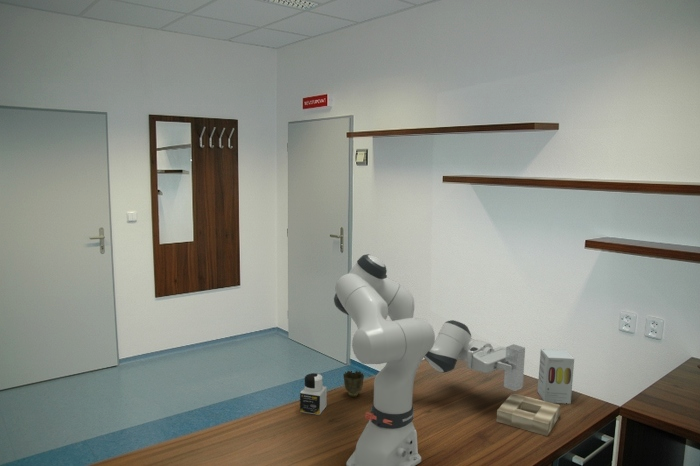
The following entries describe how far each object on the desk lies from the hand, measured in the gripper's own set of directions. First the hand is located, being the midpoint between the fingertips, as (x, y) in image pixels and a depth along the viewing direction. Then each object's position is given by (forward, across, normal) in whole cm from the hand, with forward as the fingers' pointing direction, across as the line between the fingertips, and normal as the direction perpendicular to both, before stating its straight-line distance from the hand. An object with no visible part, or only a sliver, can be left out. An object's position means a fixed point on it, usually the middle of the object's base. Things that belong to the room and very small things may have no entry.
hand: (517, 366), depth 175 cm
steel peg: (-1, 0, -8) cm, 8 cm away
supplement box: (+2, -23, -17) cm, 29 cm away
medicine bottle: (-45, +50, -18) cm, 70 cm away
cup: (-45, +33, -18) cm, 58 cm away
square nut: (+5, -1, -17) cm, 18 cm away
